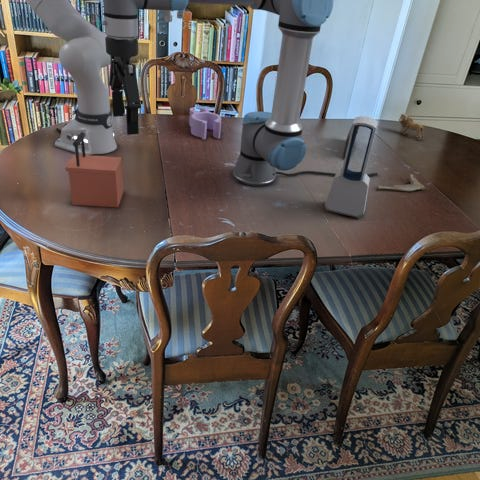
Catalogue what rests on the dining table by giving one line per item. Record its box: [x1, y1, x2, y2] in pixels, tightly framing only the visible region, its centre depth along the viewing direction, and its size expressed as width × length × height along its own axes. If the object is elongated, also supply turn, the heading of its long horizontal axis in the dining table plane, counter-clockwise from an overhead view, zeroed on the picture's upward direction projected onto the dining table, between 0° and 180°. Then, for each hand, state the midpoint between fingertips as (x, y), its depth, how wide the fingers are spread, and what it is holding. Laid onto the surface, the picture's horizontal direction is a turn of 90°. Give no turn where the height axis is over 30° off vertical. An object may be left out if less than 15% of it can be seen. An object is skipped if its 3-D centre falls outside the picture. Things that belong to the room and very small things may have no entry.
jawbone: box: [376, 173, 426, 193], centre depth 169 cm, size 9×20×2 cm, turn 126°
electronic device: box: [324, 115, 379, 219], centre depth 142 cm, size 12×8×30 cm, turn 71°
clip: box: [188, 106, 222, 140], centre depth 199 cm, size 20×12×7 cm, turn 23°
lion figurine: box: [398, 113, 425, 141], centre depth 218 cm, size 15×5×9 cm, turn 50°
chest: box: [68, 161, 124, 208], centre depth 140 cm, size 13×10×11 cm
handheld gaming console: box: [342, 123, 360, 159], centre depth 194 cm, size 23×3×10 cm, turn 161°
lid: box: [65, 132, 123, 175], centre depth 135 cm, size 14×10×9 cm
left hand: (174, 20), depth 144 cm, fingers open, 8 cm apart
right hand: (125, 124), depth 121 cm, fingers open, 13 cm apart
